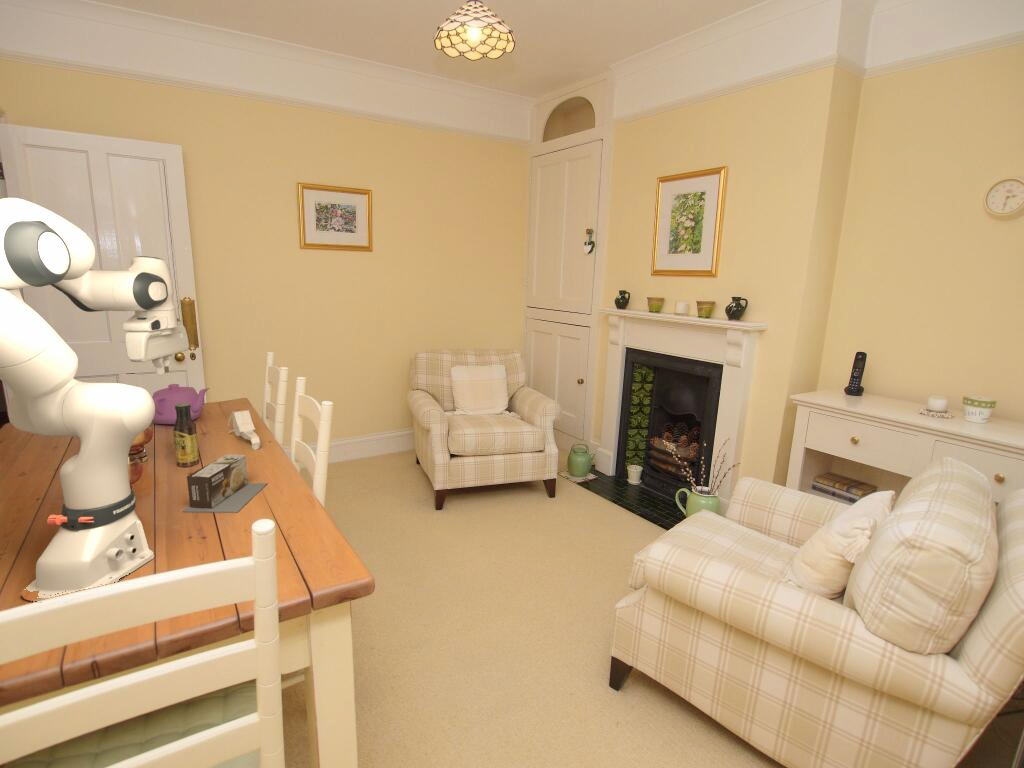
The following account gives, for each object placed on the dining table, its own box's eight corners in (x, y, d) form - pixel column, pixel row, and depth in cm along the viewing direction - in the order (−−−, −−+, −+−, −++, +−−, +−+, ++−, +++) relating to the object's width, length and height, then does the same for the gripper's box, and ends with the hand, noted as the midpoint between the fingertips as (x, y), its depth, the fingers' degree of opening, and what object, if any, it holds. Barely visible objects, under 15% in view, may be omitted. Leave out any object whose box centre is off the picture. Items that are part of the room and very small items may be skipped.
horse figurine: (234, 459, 195) (250, 451, 177) (225, 416, 197) (241, 404, 178) (248, 456, 199) (265, 448, 180) (239, 414, 200) (256, 402, 181)
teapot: (135, 429, 199) (129, 391, 196) (172, 414, 220) (168, 379, 217) (193, 431, 198) (188, 392, 195) (225, 416, 219) (221, 380, 216)
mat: (237, 512, 135) (237, 511, 135) (182, 512, 135) (182, 511, 135) (267, 484, 153) (267, 483, 153) (218, 483, 152) (218, 482, 152)
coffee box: (225, 453, 150) (185, 474, 135) (246, 454, 150) (208, 476, 134) (228, 483, 152) (189, 507, 137) (248, 485, 152) (212, 509, 136)
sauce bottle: (172, 465, 165) (164, 404, 161) (192, 459, 171) (185, 400, 166) (184, 469, 162) (177, 407, 158) (204, 463, 168) (197, 403, 163)
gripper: (169, 316, 146) (175, 365, 149) (117, 324, 126) (125, 381, 129) (192, 317, 146) (197, 365, 149) (144, 325, 126) (151, 381, 129)
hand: (163, 373), depth 139 cm, fingers closed
